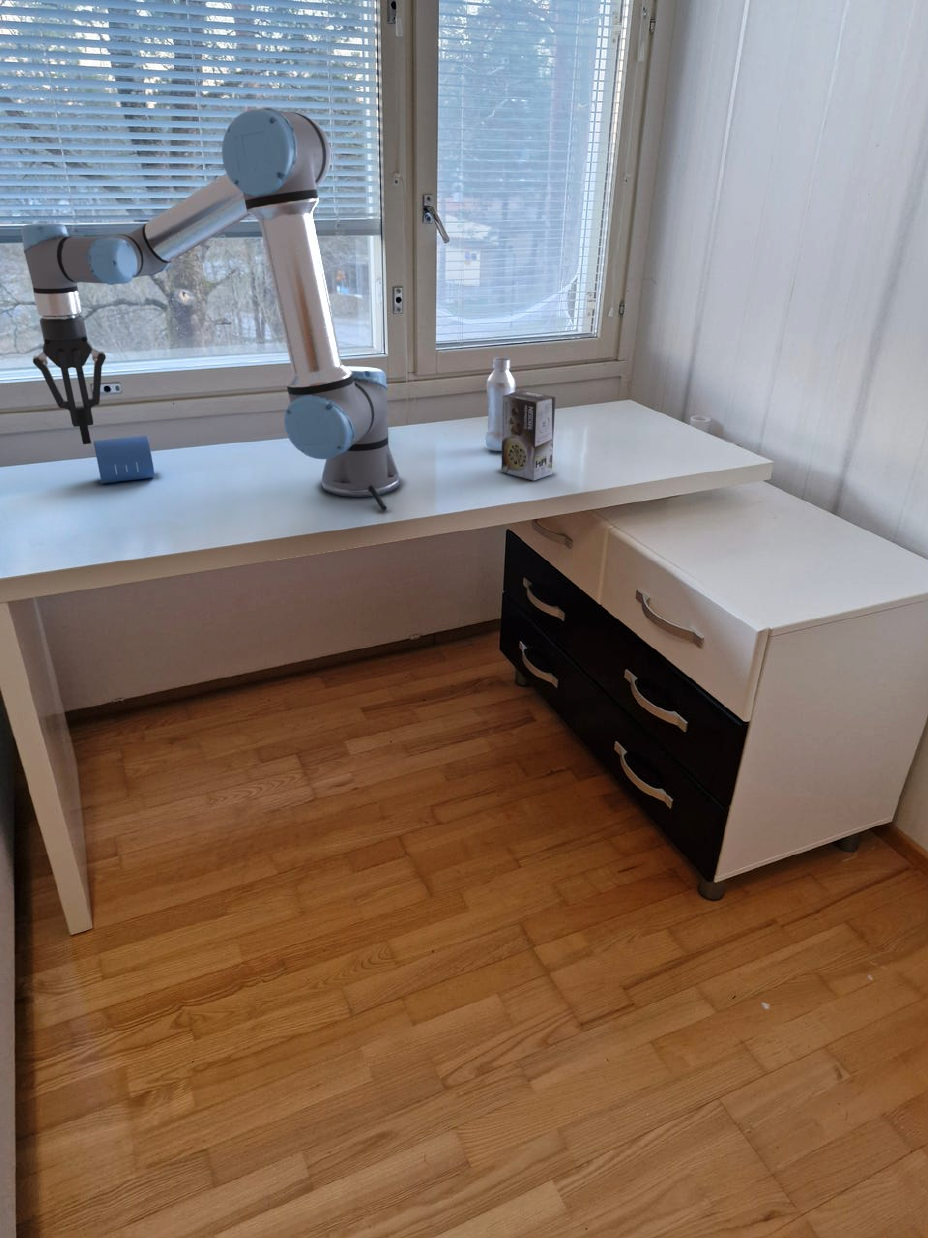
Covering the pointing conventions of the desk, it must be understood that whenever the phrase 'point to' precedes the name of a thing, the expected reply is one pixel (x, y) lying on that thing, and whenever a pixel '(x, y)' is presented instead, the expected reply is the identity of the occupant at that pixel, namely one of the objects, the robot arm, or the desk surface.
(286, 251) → the robot arm
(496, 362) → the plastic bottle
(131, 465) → the measuring cup
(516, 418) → the coffee box
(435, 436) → the desk surface
